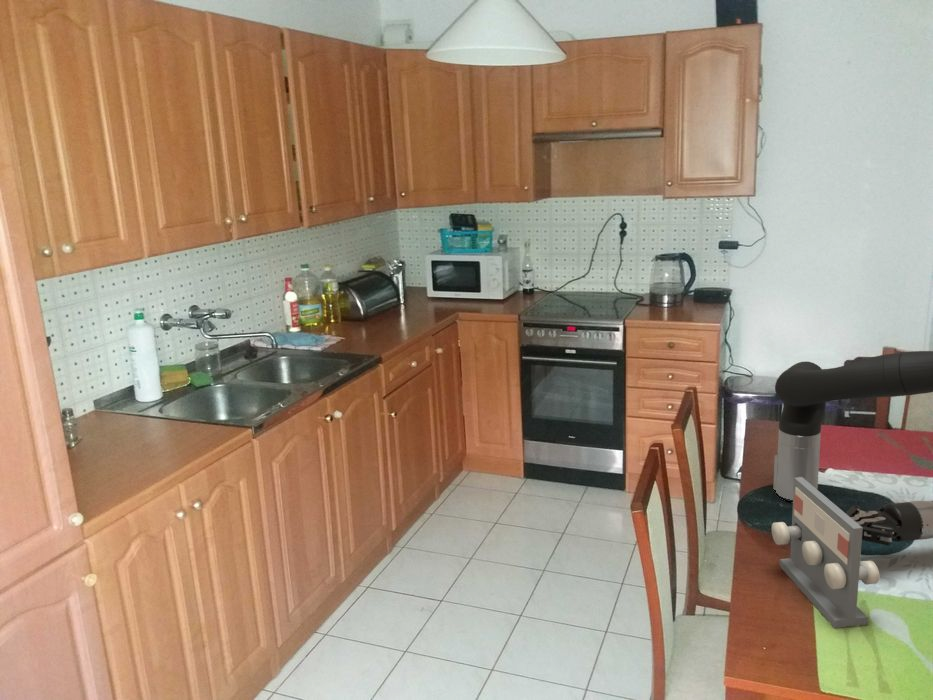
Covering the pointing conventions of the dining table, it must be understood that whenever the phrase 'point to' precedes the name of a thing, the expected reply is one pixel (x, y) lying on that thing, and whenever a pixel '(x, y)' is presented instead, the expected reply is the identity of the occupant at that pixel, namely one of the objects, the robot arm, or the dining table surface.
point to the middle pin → (812, 552)
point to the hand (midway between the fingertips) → (829, 528)
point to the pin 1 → (785, 532)
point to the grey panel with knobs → (825, 555)
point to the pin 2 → (838, 575)
